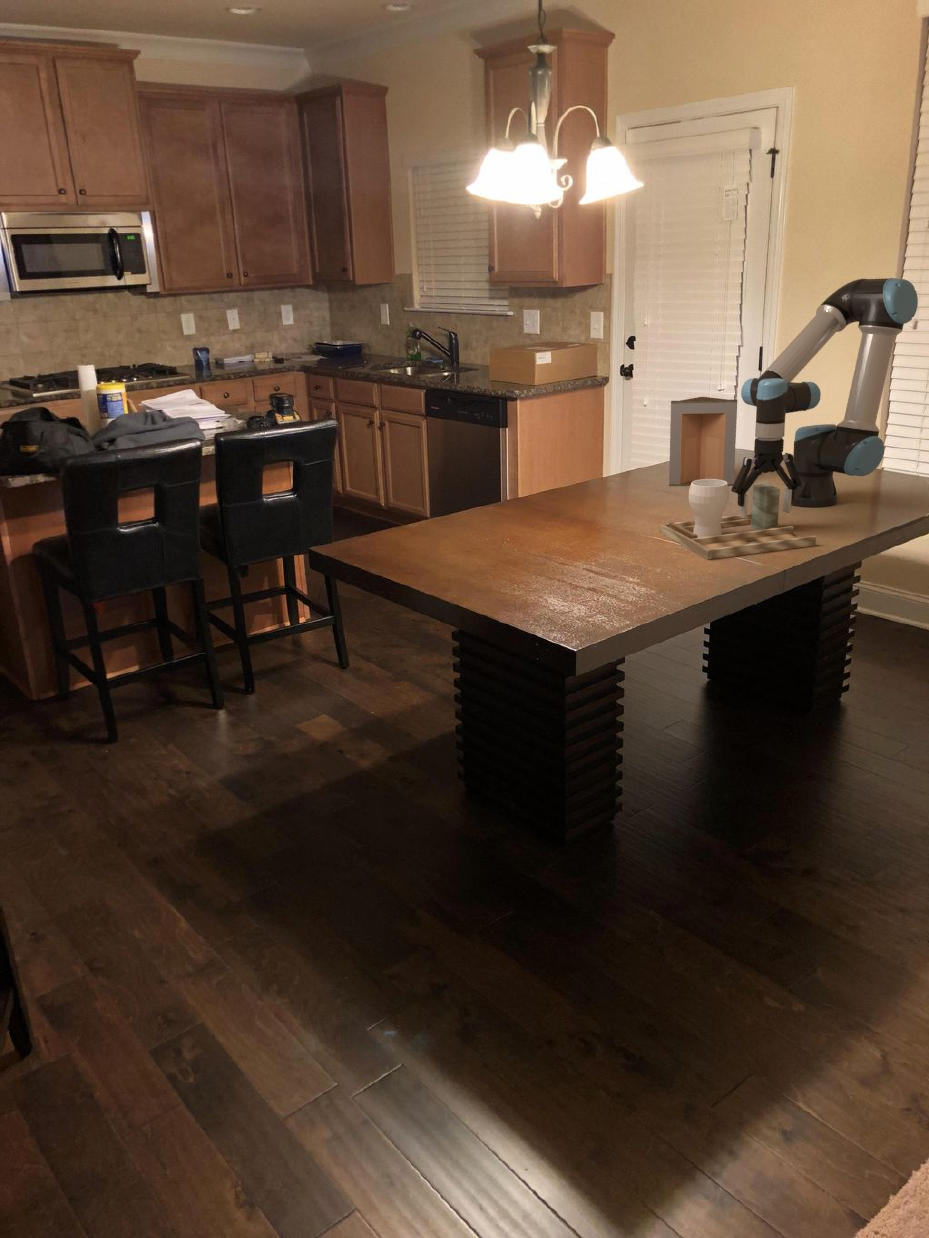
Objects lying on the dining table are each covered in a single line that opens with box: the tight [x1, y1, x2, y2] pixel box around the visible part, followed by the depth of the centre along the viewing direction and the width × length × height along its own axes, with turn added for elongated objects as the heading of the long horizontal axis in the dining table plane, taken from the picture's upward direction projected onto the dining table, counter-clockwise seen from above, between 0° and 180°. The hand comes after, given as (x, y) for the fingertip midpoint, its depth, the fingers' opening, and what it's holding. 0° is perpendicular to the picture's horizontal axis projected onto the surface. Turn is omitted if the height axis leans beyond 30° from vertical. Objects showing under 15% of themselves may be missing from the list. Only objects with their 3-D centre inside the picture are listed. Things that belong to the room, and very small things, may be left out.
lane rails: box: [659, 512, 817, 561], centre depth 264 cm, size 31×28×2 cm
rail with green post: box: [668, 483, 781, 539], centre depth 267 cm, size 27×15×12 cm, turn 104°
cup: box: [688, 479, 730, 538], centre depth 266 cm, size 11×11×15 cm
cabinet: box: [668, 396, 738, 487], centre depth 324 cm, size 21×10×28 cm, turn 77°
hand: (764, 514), depth 271 cm, fingers open, 13 cm apart
